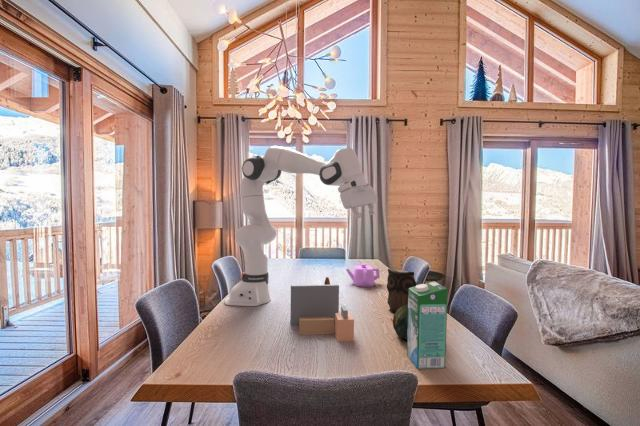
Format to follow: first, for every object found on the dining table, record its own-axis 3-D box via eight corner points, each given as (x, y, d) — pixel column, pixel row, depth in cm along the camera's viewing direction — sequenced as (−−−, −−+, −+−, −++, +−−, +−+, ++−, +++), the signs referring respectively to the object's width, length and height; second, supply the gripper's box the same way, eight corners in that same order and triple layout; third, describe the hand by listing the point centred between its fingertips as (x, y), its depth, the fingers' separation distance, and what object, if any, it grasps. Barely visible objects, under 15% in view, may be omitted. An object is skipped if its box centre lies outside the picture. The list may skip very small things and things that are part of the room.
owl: (419, 317, 141) (420, 272, 141) (391, 317, 141) (392, 272, 140) (410, 307, 154) (411, 266, 153) (384, 307, 154) (385, 266, 153)
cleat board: (290, 334, 121) (291, 293, 121) (290, 319, 137) (290, 282, 136) (342, 333, 123) (343, 292, 123) (336, 318, 139) (337, 282, 138)
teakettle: (366, 289, 186) (366, 268, 185) (343, 283, 198) (344, 263, 197) (382, 284, 198) (383, 264, 197) (360, 279, 210) (361, 260, 209)
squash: (389, 314, 130) (395, 294, 119) (426, 316, 129) (436, 296, 119) (392, 348, 119) (400, 330, 109) (433, 351, 119) (444, 333, 109)
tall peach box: (337, 341, 116) (338, 311, 116) (334, 333, 123) (335, 305, 123) (353, 340, 117) (354, 311, 117) (350, 332, 124) (350, 305, 124)
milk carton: (406, 354, 107) (408, 280, 106) (432, 354, 107) (434, 280, 106) (417, 369, 98) (419, 288, 97) (445, 368, 98) (447, 288, 97)
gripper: (364, 185, 142) (373, 215, 141) (334, 189, 127) (345, 222, 126) (375, 180, 138) (385, 211, 137) (346, 183, 123) (357, 217, 122)
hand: (366, 216), depth 131 cm, fingers open, 8 cm apart
